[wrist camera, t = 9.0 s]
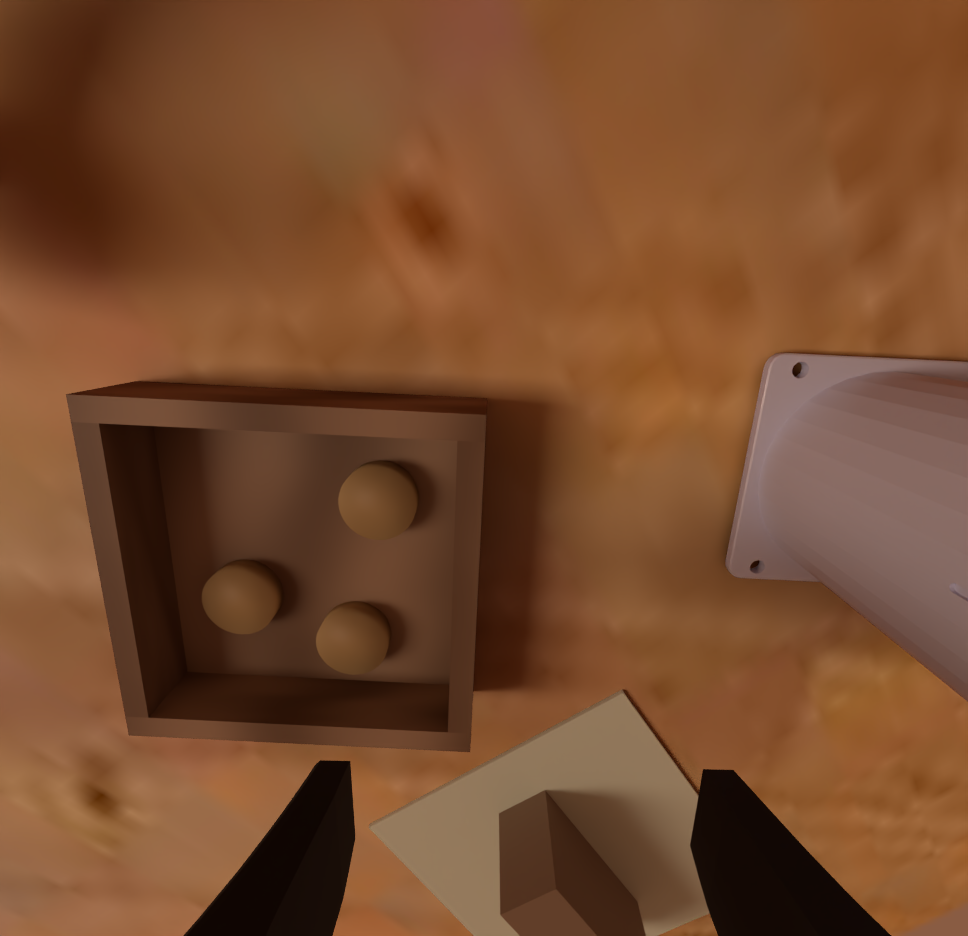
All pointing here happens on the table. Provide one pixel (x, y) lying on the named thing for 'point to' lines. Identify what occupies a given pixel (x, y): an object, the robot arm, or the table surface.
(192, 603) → the wooden tray
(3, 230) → the table surface
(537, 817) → the lid
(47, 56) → the table surface
